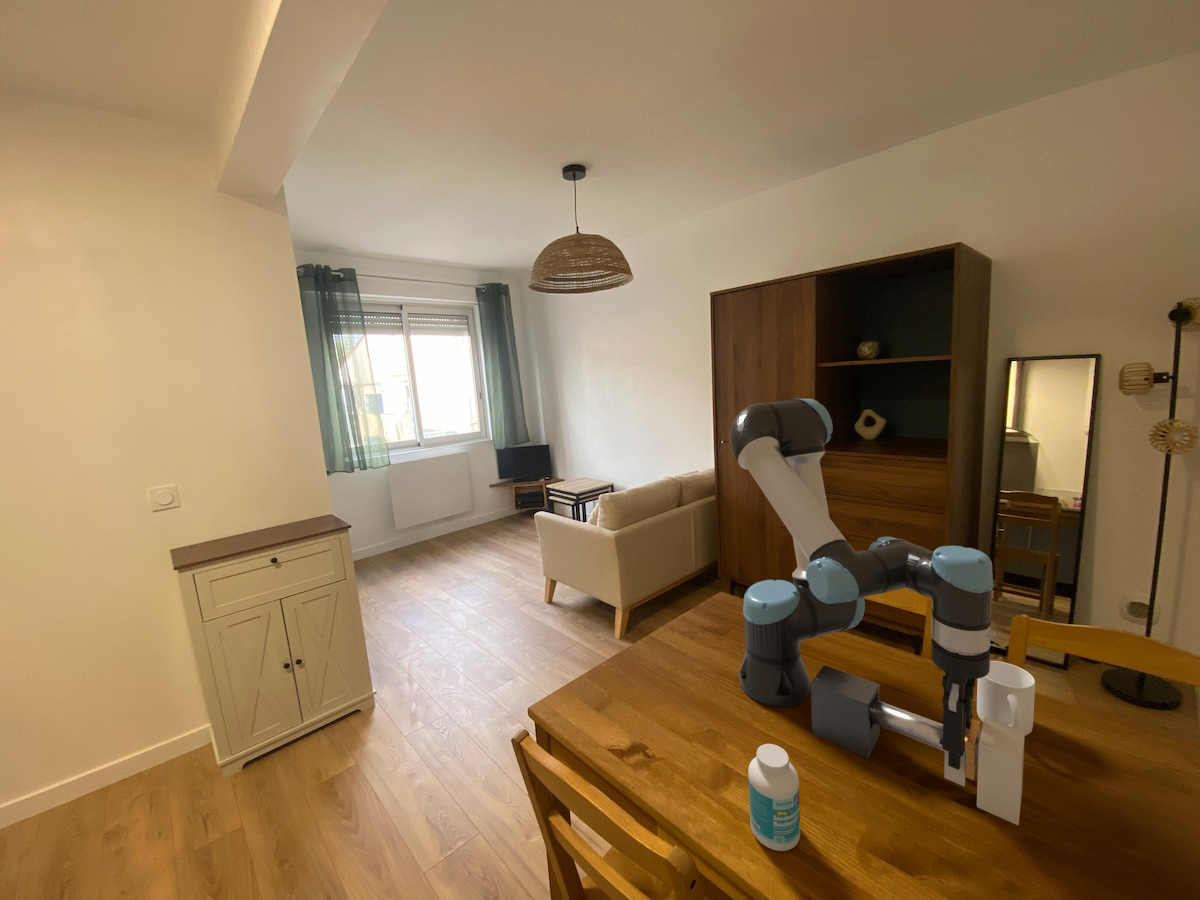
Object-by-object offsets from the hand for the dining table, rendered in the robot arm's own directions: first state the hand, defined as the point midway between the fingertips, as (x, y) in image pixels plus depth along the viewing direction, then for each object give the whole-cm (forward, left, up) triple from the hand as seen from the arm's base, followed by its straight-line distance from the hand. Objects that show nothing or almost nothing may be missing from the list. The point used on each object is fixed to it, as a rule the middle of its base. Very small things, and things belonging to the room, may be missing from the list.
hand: (957, 771), depth 80 cm
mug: (+5, +19, -2) cm, 20 cm away
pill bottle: (-19, -27, -2) cm, 33 cm away
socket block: (+6, 0, -2) cm, 6 cm away
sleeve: (-17, 0, -2) cm, 18 cm away
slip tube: (-5, 0, +2) cm, 5 cm away
